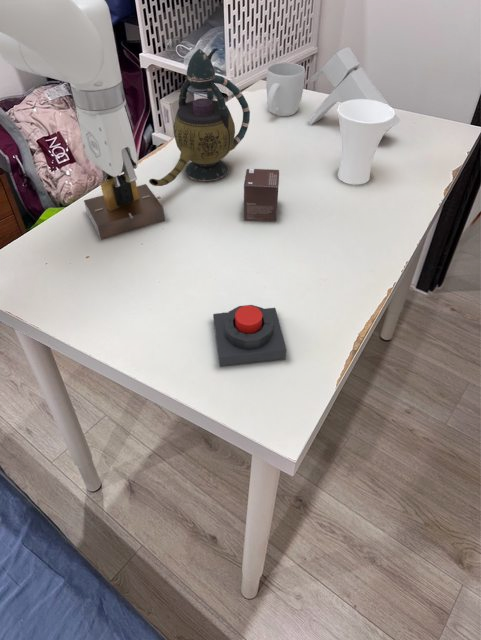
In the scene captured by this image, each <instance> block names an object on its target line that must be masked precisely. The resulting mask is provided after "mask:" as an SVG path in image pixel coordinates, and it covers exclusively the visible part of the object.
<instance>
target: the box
mask: <svg viewBox="0 0 481 640" xmlns="http://www.w3.org/2000/svg"><path fill="white" fill-rule="evenodd" d="M279 184H280V170H279V169H264V168H247V169H246V170H245V176H244V182H243V221H247V222H248V221H250V222H269V223H274V222H277V216H278V204H279V203H278V202H279V201H278V200H279Z"/></svg>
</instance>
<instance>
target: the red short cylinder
mask: <svg viewBox="0 0 481 640" xmlns="http://www.w3.org/2000/svg"><path fill="white" fill-rule="evenodd" d="M242 306H243V307H241V308H239V309H238V310H237V311H236V313H235V325H236V328H237V329H238V330H239V331H240V332H242V333H245V334H252V333H255V332H257V331H259V330H260V328H261V326H262V312H261V311H260V310H259V309H258V308H256V307H254V306H255V305H254V306H244V305H242Z"/></svg>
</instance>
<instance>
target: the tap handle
mask: <svg viewBox="0 0 481 640" xmlns="http://www.w3.org/2000/svg"><path fill="white" fill-rule="evenodd" d="M120 175H121V174H120ZM120 175H119V176H120ZM99 184H100V188H101V191H102V195H103V196H104V200H105V204H106V208H107V209H108V210H109V211H112V210H115V209H117V208H119V206H118V205H117V203H116V199H115V194H114V190H113V186H114V185H115V184H114V180H113V178H112V179H109V180H108V179H107V180H105V181H101V182H100V183H99ZM137 186H138V185H137V180H135V181H133V182H131V188H132V193H133V198H134V200H133V201H135V200H138V199H139V196H138V191H137ZM133 201H132V202H133ZM130 203H131V202H130ZM125 205H126V204H125ZM123 206H124V205H123ZM121 207H122V206H121Z"/></svg>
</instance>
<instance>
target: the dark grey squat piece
mask: <svg viewBox="0 0 481 640" xmlns="http://www.w3.org/2000/svg"><path fill="white" fill-rule="evenodd" d="M243 306H254V307H256V308H258V309H259V310H260V311H261V312H262V326H261V328H260V330H259V331H257V332H255V333H252V334H245V333H242V332H240V331H239V330H238V329H237V328H236V325H235V313H236V311H237V310H238V309H239V308H241V307H243ZM212 318H213V319H212V320H213V329H214V336H215V344H216V350H217V357H218V366H219V368H223V367H233V366H240V365H249V364H250V365H251V364H260V363H268V362H279V361H285V360H286V357H287V346H286V343H285V339H284V334H283V331H282V328H281V323H280V320H279V316H278V313H277V308H276V307H268V308H264V307H261V306H257V305H254V304H247V305H246V304H245V305H238V306H236V307H235V308H233V309H231V310H229V311H227V312H217V313H213V314H212Z"/></svg>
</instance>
